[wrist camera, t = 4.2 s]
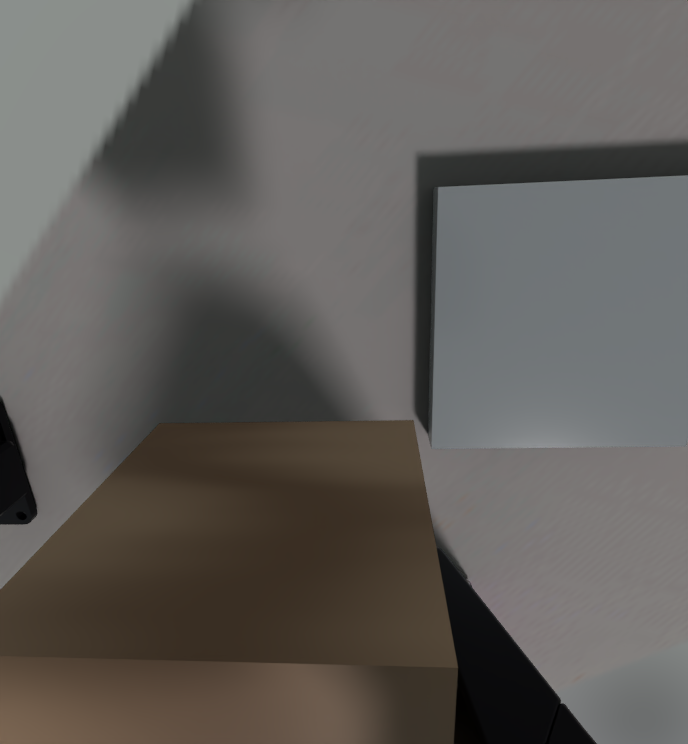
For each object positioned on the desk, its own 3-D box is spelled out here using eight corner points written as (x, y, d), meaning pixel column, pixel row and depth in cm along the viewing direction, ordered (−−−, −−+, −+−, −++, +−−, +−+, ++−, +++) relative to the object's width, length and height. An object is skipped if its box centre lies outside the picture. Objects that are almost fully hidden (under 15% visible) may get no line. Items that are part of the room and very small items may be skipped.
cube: (197, 614, 11) (65, 924, 6) (159, 423, 9) (-61, 654, 5) (411, 617, 11) (441, 949, 6) (413, 420, 9) (458, 667, 4)
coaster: (427, 434, 20) (431, 448, 19) (433, 187, 17) (437, 187, 16) (668, 432, 20) (686, 446, 18) (725, 174, 16) (752, 172, 15)
